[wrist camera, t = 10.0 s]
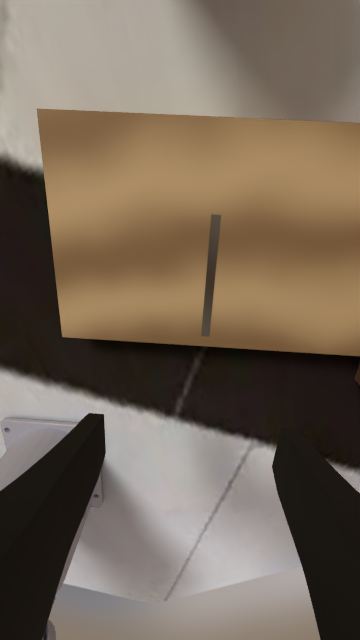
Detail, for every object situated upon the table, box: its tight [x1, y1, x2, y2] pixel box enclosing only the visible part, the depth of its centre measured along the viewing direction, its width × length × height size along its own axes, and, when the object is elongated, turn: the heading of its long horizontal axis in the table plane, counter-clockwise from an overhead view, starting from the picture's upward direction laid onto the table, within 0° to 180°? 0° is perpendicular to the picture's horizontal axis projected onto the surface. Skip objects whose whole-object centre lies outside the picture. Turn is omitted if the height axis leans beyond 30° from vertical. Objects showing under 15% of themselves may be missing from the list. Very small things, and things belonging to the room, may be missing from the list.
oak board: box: [37, 109, 360, 356], centre depth 16 cm, size 12×30×2 cm, turn 87°
